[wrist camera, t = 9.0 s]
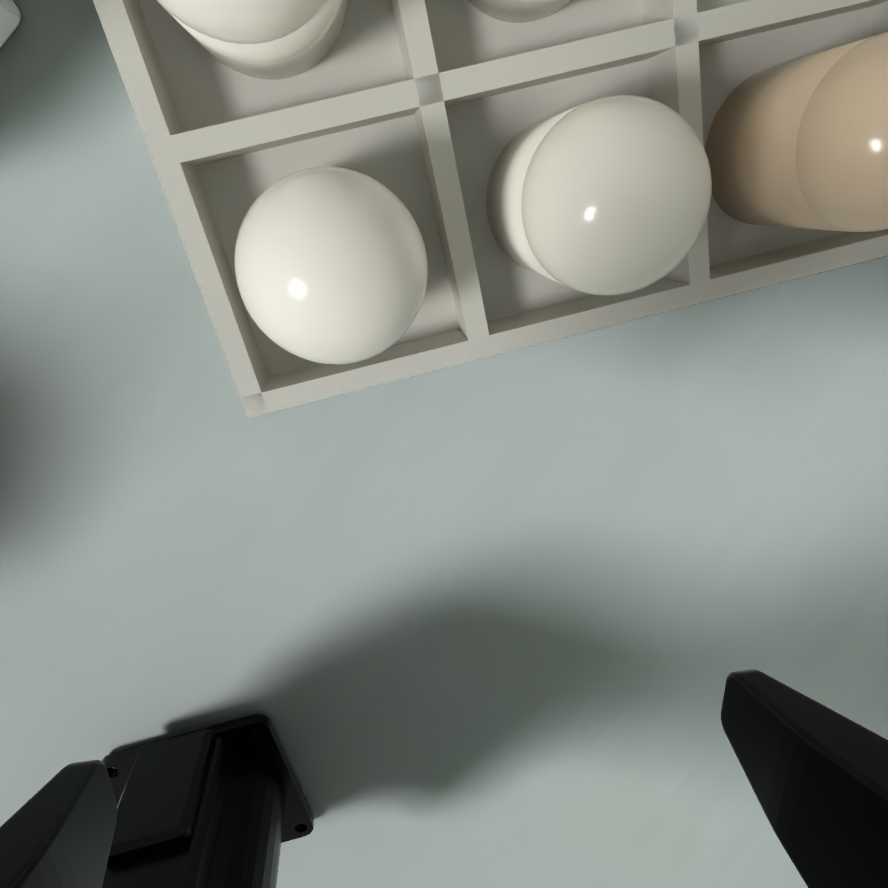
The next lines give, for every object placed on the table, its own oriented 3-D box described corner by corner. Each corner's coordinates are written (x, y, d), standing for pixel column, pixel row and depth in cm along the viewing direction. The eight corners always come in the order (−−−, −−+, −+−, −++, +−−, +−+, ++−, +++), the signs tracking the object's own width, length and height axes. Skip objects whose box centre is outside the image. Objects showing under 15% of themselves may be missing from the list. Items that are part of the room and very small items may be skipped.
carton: (865, 241, 20) (922, 246, 18) (258, 394, 19) (247, 418, 17) (893, -340, 15) (978, -424, 13) (59, -163, 14) (9, -225, 12)
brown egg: (707, 239, 19) (859, 257, 13) (700, 84, 17) (869, 30, 12) (837, 207, 19) (1041, 211, 13) (842, 50, 17) (1077, -19, 12)
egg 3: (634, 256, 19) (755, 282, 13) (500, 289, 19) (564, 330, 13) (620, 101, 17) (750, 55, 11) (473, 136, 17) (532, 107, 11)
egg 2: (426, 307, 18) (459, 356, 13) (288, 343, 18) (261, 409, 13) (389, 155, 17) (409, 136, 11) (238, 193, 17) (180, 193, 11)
